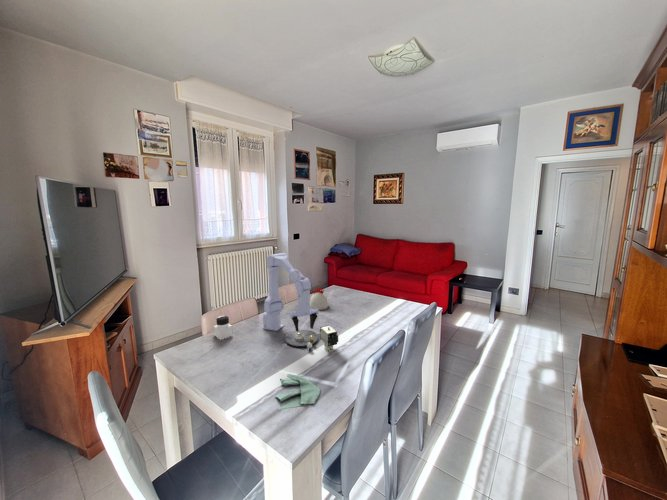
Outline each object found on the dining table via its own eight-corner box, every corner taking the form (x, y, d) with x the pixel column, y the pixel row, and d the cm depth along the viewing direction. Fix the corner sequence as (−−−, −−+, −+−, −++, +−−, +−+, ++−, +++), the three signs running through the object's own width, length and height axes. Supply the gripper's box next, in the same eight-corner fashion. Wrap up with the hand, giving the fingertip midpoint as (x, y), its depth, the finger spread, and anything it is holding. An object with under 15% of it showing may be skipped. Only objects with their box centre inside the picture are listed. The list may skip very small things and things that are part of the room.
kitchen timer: (327, 312, 188) (327, 290, 186) (307, 312, 188) (307, 290, 186) (328, 305, 202) (328, 285, 199) (309, 305, 202) (309, 285, 200)
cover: (297, 342, 139) (297, 336, 139) (292, 339, 143) (292, 332, 143) (306, 339, 143) (306, 333, 142) (300, 336, 146) (300, 330, 146)
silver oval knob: (306, 350, 135) (306, 342, 135) (307, 348, 137) (307, 341, 136) (311, 351, 134) (311, 343, 134) (313, 349, 136) (313, 341, 135)
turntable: (292, 349, 135) (292, 341, 134) (281, 336, 150) (280, 328, 149) (324, 341, 143) (323, 334, 143) (310, 329, 158) (310, 322, 157)
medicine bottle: (233, 338, 149) (232, 316, 148) (220, 342, 144) (218, 320, 142) (226, 334, 154) (225, 313, 152) (214, 338, 149) (212, 317, 147)
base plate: (276, 345, 141) (276, 344, 141) (294, 330, 158) (294, 329, 158) (310, 352, 134) (310, 351, 134) (325, 335, 152) (325, 334, 152)
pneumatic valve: (329, 357, 130) (329, 332, 128) (319, 346, 140) (319, 323, 138) (340, 354, 132) (340, 330, 131) (329, 344, 143) (329, 321, 141)
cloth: (321, 407, 98) (321, 401, 97) (258, 410, 96) (257, 404, 96) (319, 373, 118) (319, 368, 118) (267, 376, 116) (267, 370, 116)
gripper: (292, 307, 129) (292, 335, 131) (320, 303, 136) (321, 329, 137) (287, 303, 136) (288, 329, 138) (315, 299, 142) (315, 324, 144)
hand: (304, 329), depth 138 cm, fingers open, 7 cm apart
